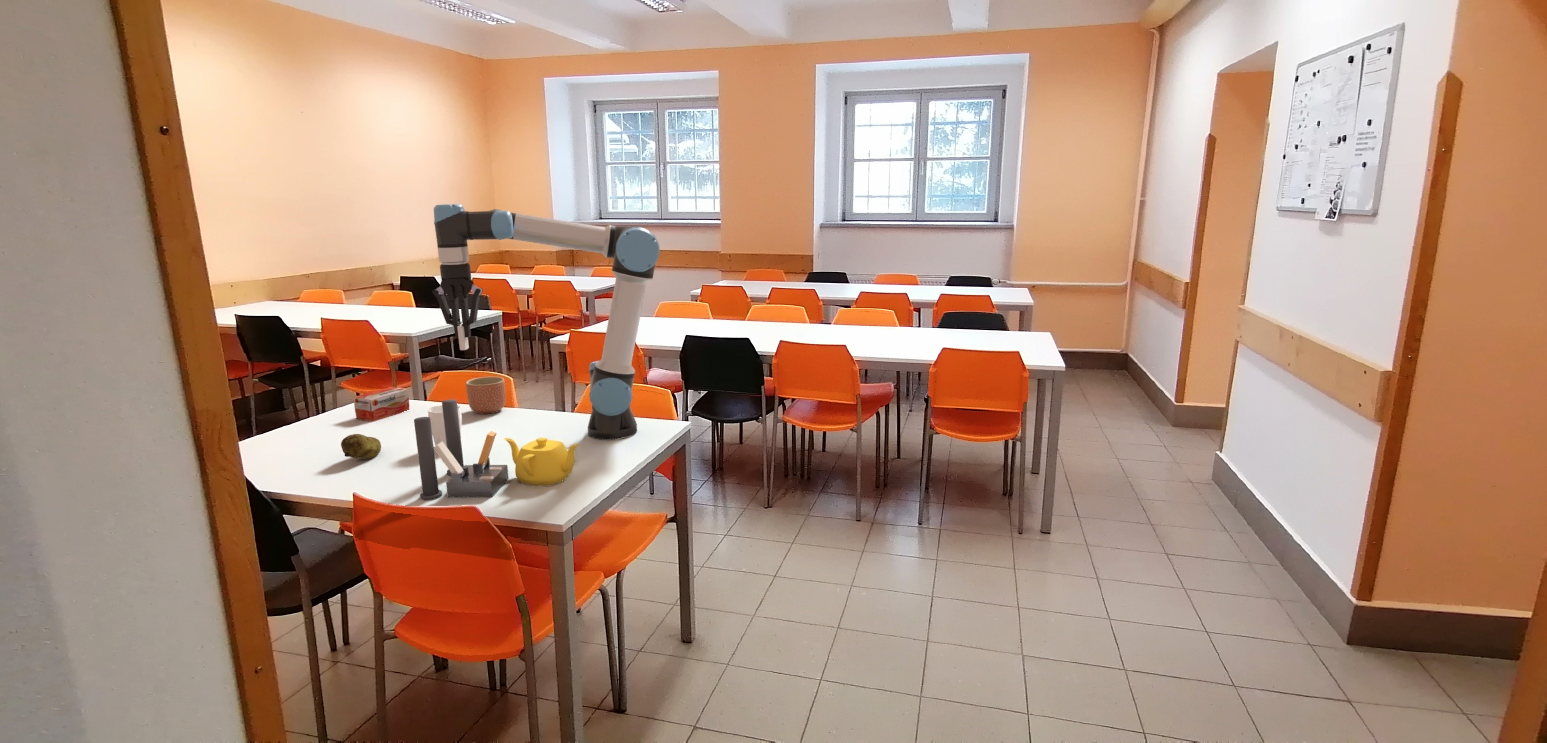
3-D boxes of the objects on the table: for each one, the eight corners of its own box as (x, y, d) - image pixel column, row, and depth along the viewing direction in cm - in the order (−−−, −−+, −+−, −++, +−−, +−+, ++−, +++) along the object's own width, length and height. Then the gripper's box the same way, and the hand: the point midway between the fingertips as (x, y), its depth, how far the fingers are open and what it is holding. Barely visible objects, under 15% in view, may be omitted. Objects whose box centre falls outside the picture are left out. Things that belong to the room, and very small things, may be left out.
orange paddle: (486, 466, 195) (497, 432, 193) (481, 471, 192) (492, 436, 190) (480, 464, 195) (491, 430, 193) (475, 469, 192) (486, 434, 190)
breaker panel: (508, 479, 198) (506, 456, 196) (492, 497, 186) (489, 473, 185) (466, 479, 198) (464, 457, 196) (447, 497, 186) (445, 473, 185)
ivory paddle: (466, 473, 189) (443, 440, 187) (461, 478, 186) (437, 444, 184) (461, 476, 189) (437, 443, 187) (456, 481, 186) (432, 448, 184)
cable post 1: (445, 492, 189) (436, 415, 185) (437, 499, 185) (427, 421, 180) (425, 492, 189) (416, 416, 185) (416, 500, 185) (406, 422, 180)
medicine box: (372, 422, 249) (369, 399, 247) (355, 419, 252) (352, 396, 250) (411, 410, 262) (408, 388, 260) (394, 408, 265) (391, 386, 264)
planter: (461, 415, 255) (458, 384, 252) (481, 405, 267) (478, 375, 264) (495, 417, 253) (492, 385, 250) (513, 407, 265) (511, 377, 262)
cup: (452, 453, 218) (448, 413, 215) (425, 451, 219) (420, 412, 217) (471, 443, 226) (467, 405, 224) (444, 441, 228) (439, 403, 225)
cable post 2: (470, 469, 205) (462, 398, 200) (462, 476, 200) (454, 403, 195) (451, 469, 205) (443, 398, 200) (444, 476, 200) (435, 403, 195)
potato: (394, 453, 218) (391, 426, 217) (355, 467, 207) (351, 440, 205) (373, 449, 222) (370, 423, 220) (334, 463, 210) (330, 436, 208)
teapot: (487, 486, 193) (483, 446, 190) (521, 465, 207) (518, 428, 205) (564, 494, 187) (560, 453, 185) (594, 472, 202) (591, 434, 199)
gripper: (483, 261, 206) (492, 345, 211) (435, 262, 205) (445, 346, 211) (474, 263, 198) (484, 351, 204) (424, 264, 198) (435, 352, 203)
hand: (464, 349), depth 207 cm, fingers closed
